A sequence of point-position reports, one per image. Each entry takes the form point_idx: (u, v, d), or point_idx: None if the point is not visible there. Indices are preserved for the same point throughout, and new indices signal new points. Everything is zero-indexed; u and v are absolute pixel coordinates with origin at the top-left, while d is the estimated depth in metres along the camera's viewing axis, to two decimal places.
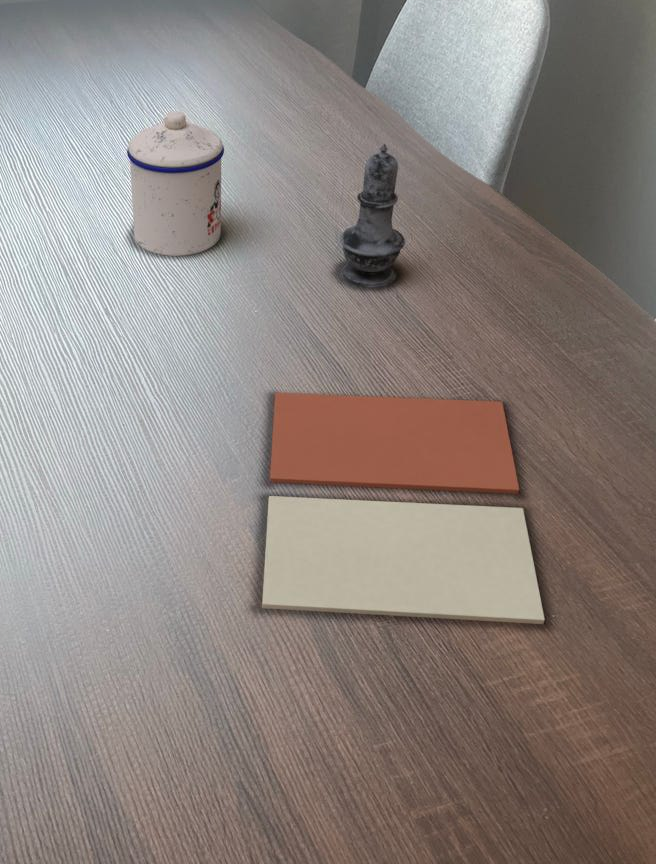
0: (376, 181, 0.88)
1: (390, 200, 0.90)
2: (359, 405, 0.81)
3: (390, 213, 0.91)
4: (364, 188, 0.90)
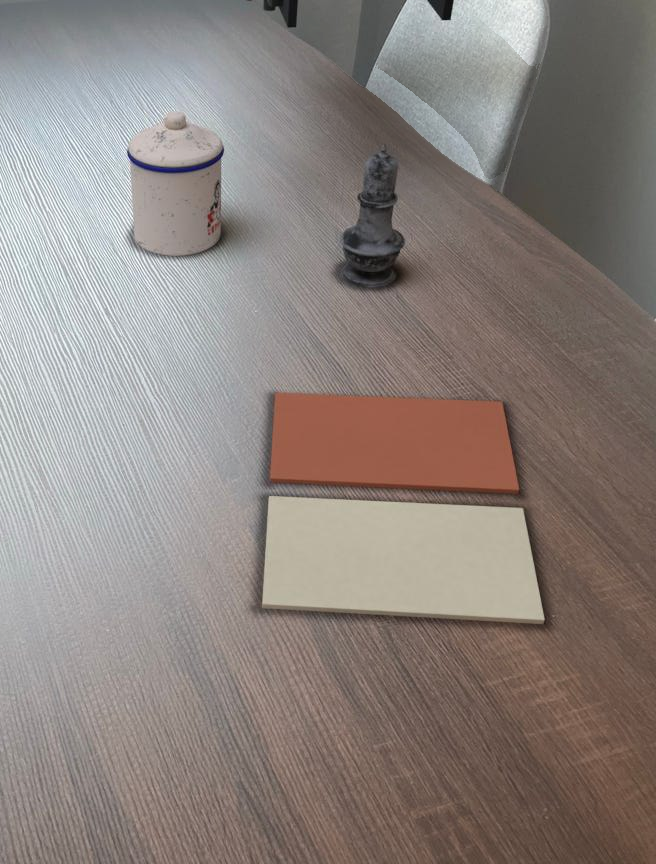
0: (376, 181, 0.88)
1: (390, 200, 0.90)
2: (359, 405, 0.81)
3: (390, 213, 0.91)
4: (364, 188, 0.90)
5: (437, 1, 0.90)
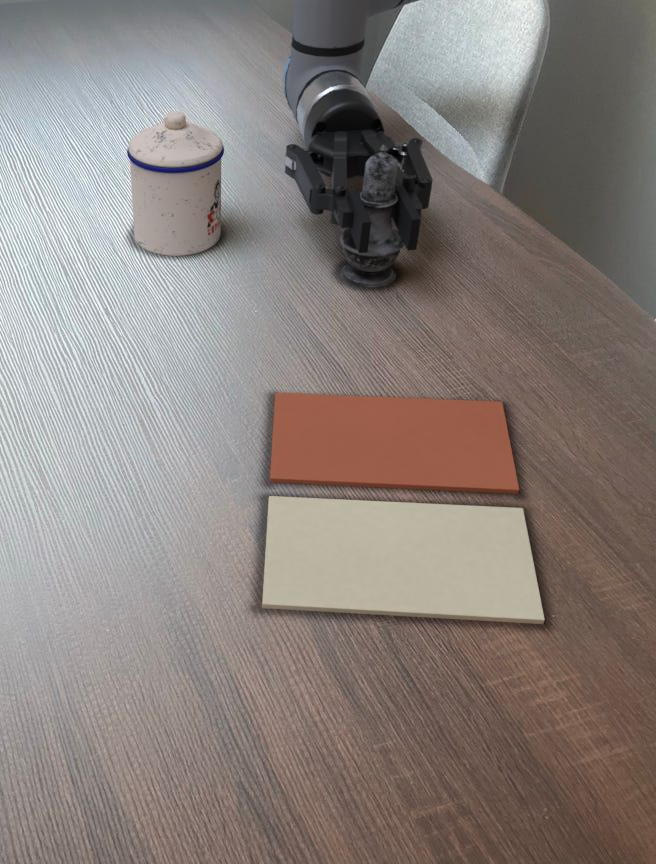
0: (376, 181, 0.88)
1: (390, 200, 0.90)
2: (359, 405, 0.81)
3: (390, 213, 0.91)
4: (364, 188, 0.90)
5: (403, 228, 0.90)
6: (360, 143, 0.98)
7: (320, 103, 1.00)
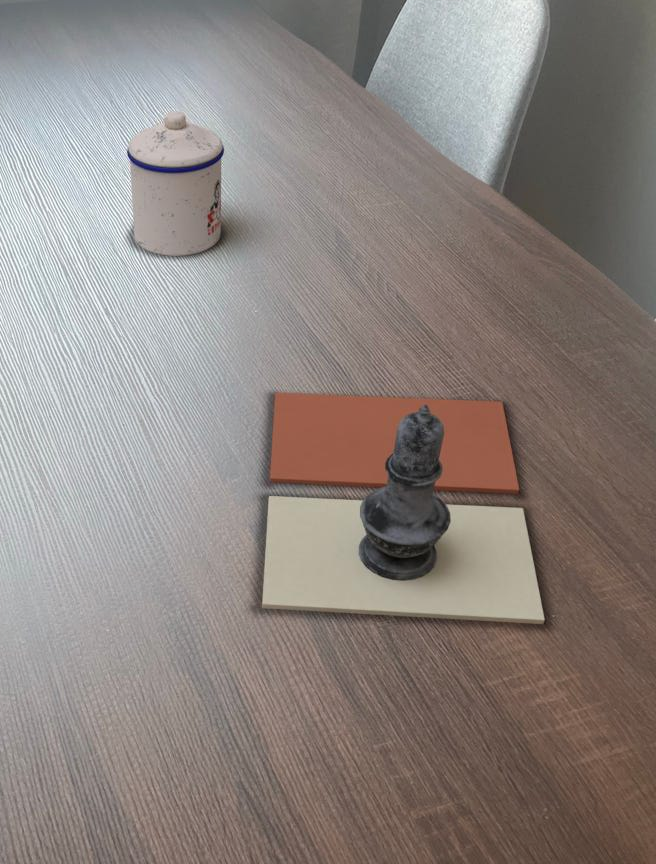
0: (413, 454, 0.62)
1: (432, 473, 0.63)
2: (359, 405, 0.81)
3: (431, 488, 0.64)
4: (395, 457, 0.63)
5: None
6: None
7: None
